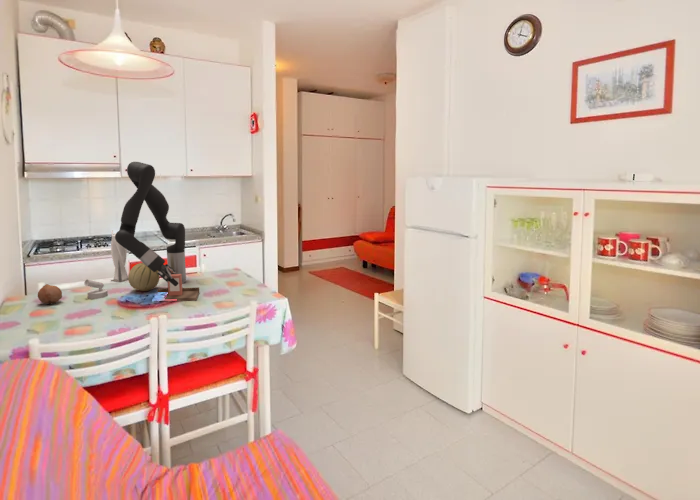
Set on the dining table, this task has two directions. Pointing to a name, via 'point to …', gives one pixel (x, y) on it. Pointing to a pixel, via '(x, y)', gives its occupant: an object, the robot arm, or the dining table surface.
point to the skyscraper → (118, 260)
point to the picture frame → (175, 289)
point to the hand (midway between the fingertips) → (178, 282)
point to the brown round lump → (49, 294)
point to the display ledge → (187, 295)
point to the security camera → (97, 292)
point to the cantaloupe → (143, 277)
